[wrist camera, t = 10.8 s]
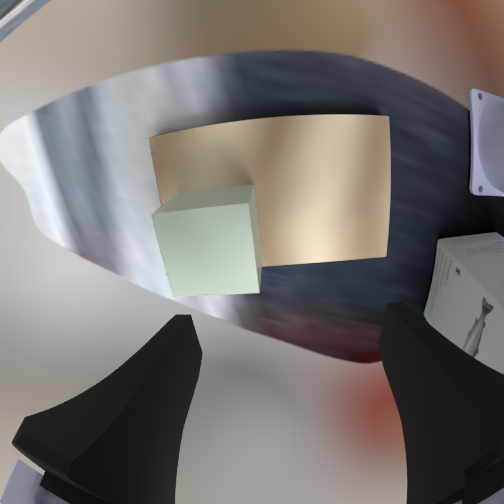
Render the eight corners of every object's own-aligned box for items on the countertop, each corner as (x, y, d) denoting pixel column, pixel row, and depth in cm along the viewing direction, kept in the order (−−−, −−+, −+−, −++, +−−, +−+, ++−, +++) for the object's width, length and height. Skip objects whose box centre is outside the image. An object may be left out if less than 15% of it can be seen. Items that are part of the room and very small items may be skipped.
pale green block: (254, 184, 15) (248, 203, 12) (262, 256, 17) (259, 292, 14) (177, 193, 16) (151, 214, 12) (191, 261, 18) (173, 296, 14)
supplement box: (434, 236, 17) (542, 351, 6) (496, 230, 16) (592, 313, 5) (420, 315, 20) (480, 434, 9) (478, 301, 19) (543, 394, 8)
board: (381, 116, 14) (388, 116, 13) (380, 248, 18) (386, 256, 17) (156, 136, 16) (148, 137, 15) (182, 263, 19) (177, 271, 18)
